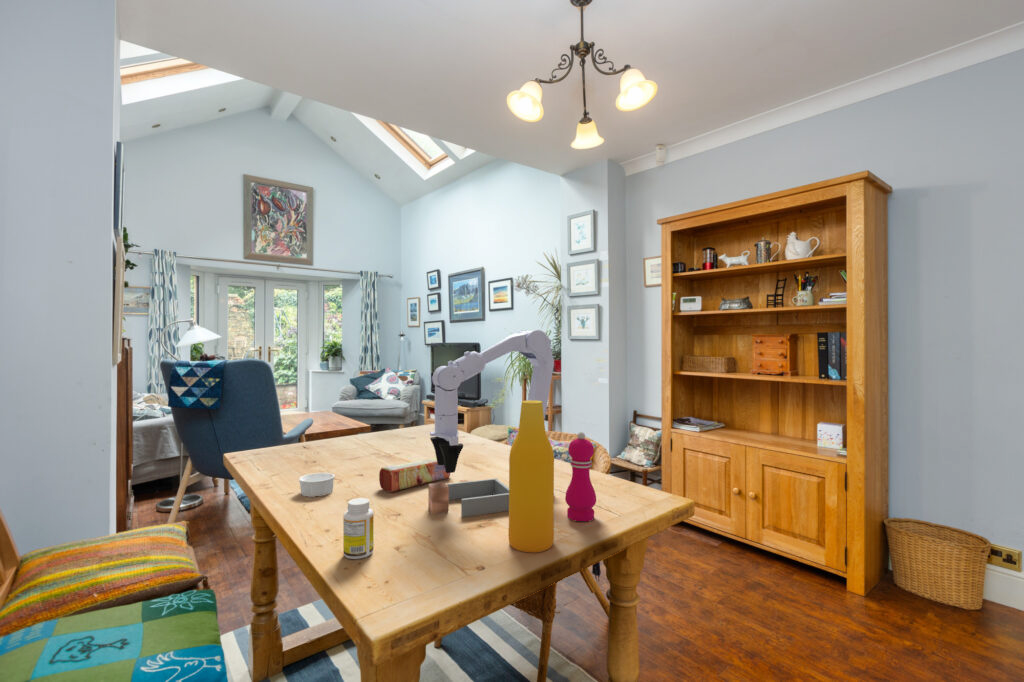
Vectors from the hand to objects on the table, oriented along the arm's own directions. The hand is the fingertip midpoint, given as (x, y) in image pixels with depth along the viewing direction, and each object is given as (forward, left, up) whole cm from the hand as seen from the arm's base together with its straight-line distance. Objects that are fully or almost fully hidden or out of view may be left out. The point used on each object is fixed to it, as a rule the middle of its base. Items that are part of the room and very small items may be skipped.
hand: (446, 468), depth 120 cm
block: (+3, +2, -9) cm, 10 cm away
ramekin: (+30, -23, -10) cm, 39 cm away
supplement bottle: (+23, +20, -10) cm, 32 cm away
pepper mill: (-27, +19, -10) cm, 35 cm away
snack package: (+3, -21, -10) cm, 24 cm away
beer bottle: (-10, +28, -10) cm, 31 cm away
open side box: (-8, +2, -9) cm, 13 cm away
